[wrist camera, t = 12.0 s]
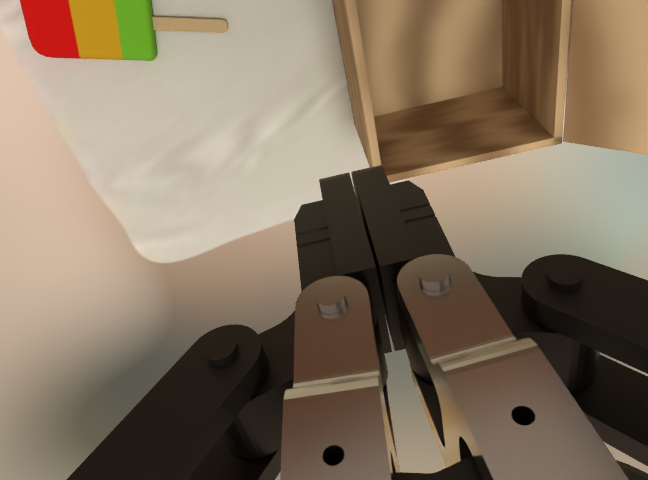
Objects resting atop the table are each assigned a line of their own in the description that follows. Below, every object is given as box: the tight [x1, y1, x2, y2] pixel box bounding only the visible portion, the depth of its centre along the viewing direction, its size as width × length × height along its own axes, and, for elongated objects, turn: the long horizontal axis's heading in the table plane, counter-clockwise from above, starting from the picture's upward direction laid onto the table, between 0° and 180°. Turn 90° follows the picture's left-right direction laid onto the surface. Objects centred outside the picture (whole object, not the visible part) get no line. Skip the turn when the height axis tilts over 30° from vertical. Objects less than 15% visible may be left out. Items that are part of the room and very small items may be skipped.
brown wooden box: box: [332, 0, 571, 182], centre depth 39 cm, size 14×20×11 cm
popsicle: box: [20, 0, 228, 61], centre depth 42 cm, size 6×15×2 cm, turn 86°
